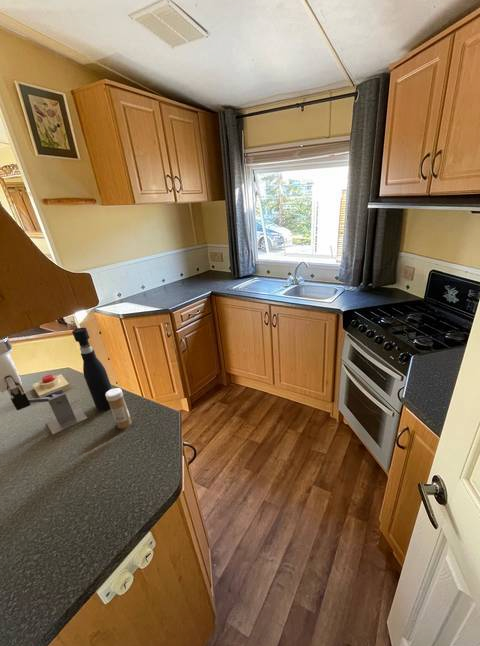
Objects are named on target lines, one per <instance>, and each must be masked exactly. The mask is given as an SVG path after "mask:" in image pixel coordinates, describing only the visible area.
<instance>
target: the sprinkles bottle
mask: <svg viewBox="0 0 480 646" xmlns="http://www.w3.org/2000/svg"><path fill="white" fill-rule="evenodd" d="M105 396H106V399H107V400H108V402H109V405H110V409H109V410H110V411H111V414H112V416H113V419H114V422H115V424H116V427H117V428H118V429H126V428H128V427H130V426H131V425H132V422H133V421H132V418H131V414H130V413H129V412H130V411H129V408H128V406H127V403H126V401H125V397H124V392H123V390H122V389H121V388H120V387H114V388H112V389H111V390H109V391H107V392H106V394H105Z"/></svg>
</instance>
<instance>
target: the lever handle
mask: <svg viewBox="0 0 480 646" xmlns="http://www.w3.org/2000/svg"><path fill="white" fill-rule="evenodd" d="M57 395H60V394H52V395H51V397H44V398H39V397H31V398H30V397H29V398H28V397H27V398H28V400H29V402H30V404H33V403H47V402H48V401H49V400H48V399H50V398H53V397H55V396H57ZM48 403H49V402H48Z"/></svg>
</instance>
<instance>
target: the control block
mask: <svg viewBox="0 0 480 646" xmlns="http://www.w3.org/2000/svg"><path fill="white" fill-rule="evenodd" d="M53 377H54V380H53V381H52V382H49V383H43V380H42V379H40V381H38V382H35V383H32V384H31V385H32V387H33V389H34V391H35V392H36V394H37V396H38V398H44V397H46V396H45V394H47V393H50V392H52V391H55V390H58V389H60V388H61V389H62V391H63V392H65V391H68V390H70V389H71V385H70V383H69V382H68V381H67V380H66V378H65V377H64V376H63V375H62V374H61V373H59V374H57V375H53Z"/></svg>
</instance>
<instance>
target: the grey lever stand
mask: <svg viewBox="0 0 480 646" xmlns="http://www.w3.org/2000/svg"><path fill="white" fill-rule="evenodd" d="M52 394H60V395H57V396H55V397H53V398H50V399H48V400H49V401H48V404H49V406H50V408H51V411H52V412H53V415H54V417H55V419H53V420H50V421H48V422H46V423H45V424H46V425H47V427H48V429H49V431H50V433H51V434H52V436H54V435H56V434H59V433H61V432H62V431H66V430H67V429H69V428H71V427H73V426H75V425H78V424H79V423H82V422H84V421H86V420H88V416H87V415H86V414H85V413H84V412H83V410H82V409H81V408H77V409H75V410H73V408H72V406H71V404H70V402H69V399H68V397H67V394H66V393H65V392H64V391H62V389H61V388H60V389H58V390H55V391H52V392H50V393H47V394H45V396H46V397H51V395H52Z"/></svg>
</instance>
